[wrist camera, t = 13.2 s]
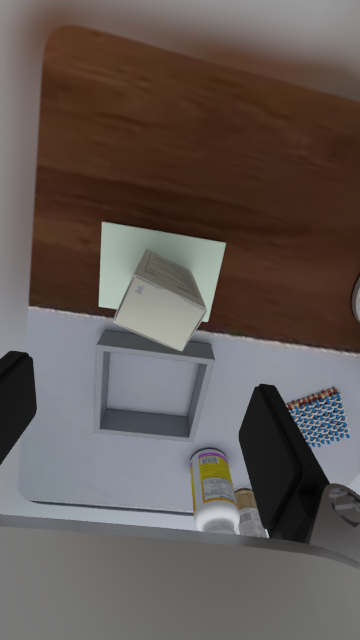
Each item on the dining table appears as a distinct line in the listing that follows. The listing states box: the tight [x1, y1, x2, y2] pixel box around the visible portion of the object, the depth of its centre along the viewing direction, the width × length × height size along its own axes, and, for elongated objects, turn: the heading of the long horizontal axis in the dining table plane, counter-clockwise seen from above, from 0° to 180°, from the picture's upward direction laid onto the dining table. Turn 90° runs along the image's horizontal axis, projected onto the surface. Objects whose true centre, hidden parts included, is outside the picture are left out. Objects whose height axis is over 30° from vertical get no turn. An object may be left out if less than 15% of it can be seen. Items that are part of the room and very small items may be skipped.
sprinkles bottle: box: [235, 489, 267, 538], centre depth 43 cm, size 5×5×13 cm
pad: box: [99, 222, 226, 322], centre depth 30 cm, size 14×10×1 cm
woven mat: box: [286, 388, 350, 449], centre depth 41 cm, size 10×11×2 cm
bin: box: [94, 330, 215, 442], centre depth 35 cm, size 15×15×4 cm
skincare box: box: [113, 249, 207, 351], centre depth 24 cm, size 6×4×12 cm
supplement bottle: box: [190, 449, 240, 534], centre depth 39 cm, size 7×7×13 cm
